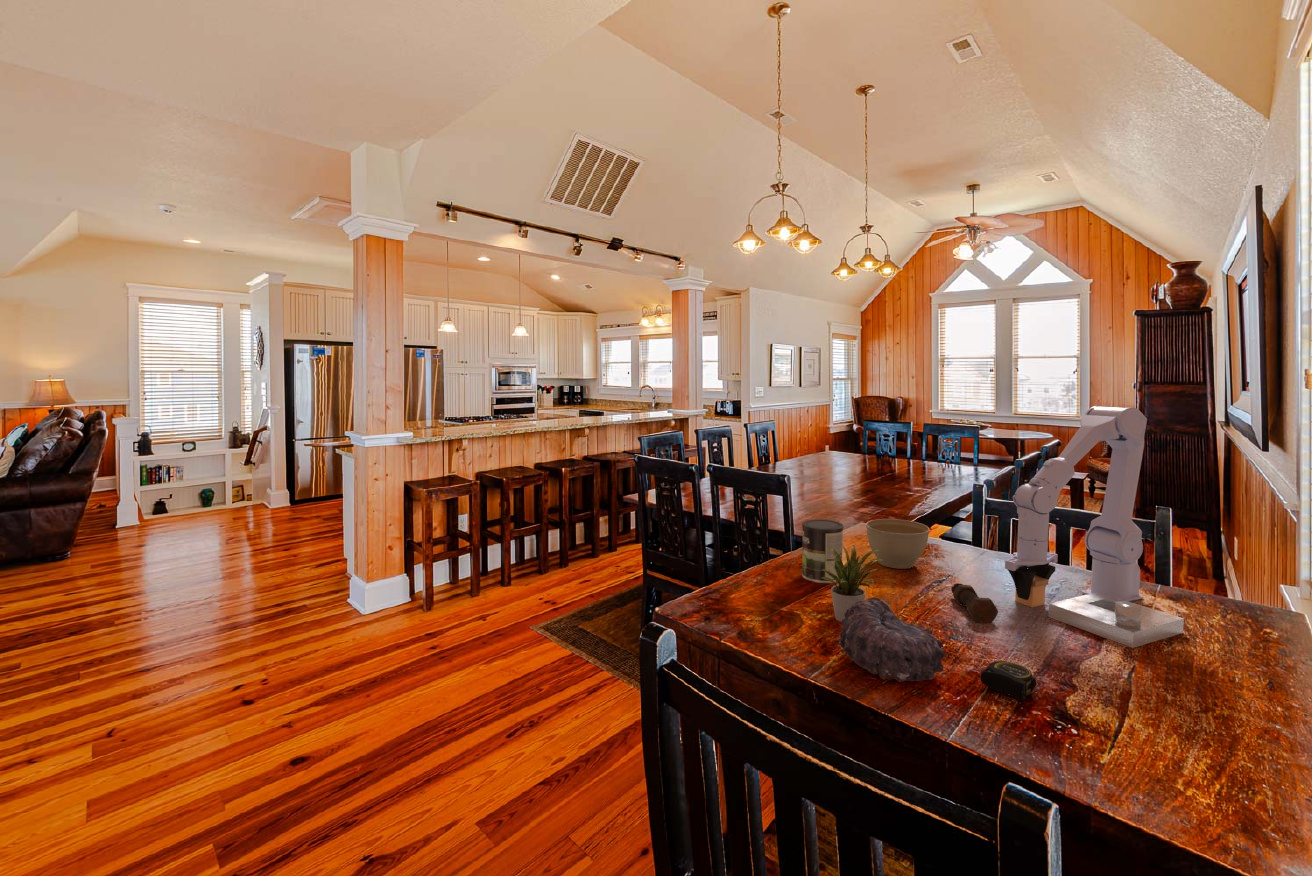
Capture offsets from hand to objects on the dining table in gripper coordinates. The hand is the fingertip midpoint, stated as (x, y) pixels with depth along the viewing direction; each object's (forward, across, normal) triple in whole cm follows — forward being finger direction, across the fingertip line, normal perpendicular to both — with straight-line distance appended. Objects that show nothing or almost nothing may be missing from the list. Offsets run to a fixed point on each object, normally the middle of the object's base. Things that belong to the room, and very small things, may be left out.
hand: (1029, 596), depth 133 cm
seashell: (+2, +50, +9) cm, 51 cm away
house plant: (+2, +42, -9) cm, 43 cm away
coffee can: (+2, +31, -34) cm, 46 cm away
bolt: (+2, +15, -3) cm, 15 cm away
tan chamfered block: (+1, 0, 0) cm, 1 cm away
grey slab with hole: (+1, -4, +15) cm, 16 cm away
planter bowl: (+2, +6, -34) cm, 35 cm away
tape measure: (+2, +39, +24) cm, 46 cm away
